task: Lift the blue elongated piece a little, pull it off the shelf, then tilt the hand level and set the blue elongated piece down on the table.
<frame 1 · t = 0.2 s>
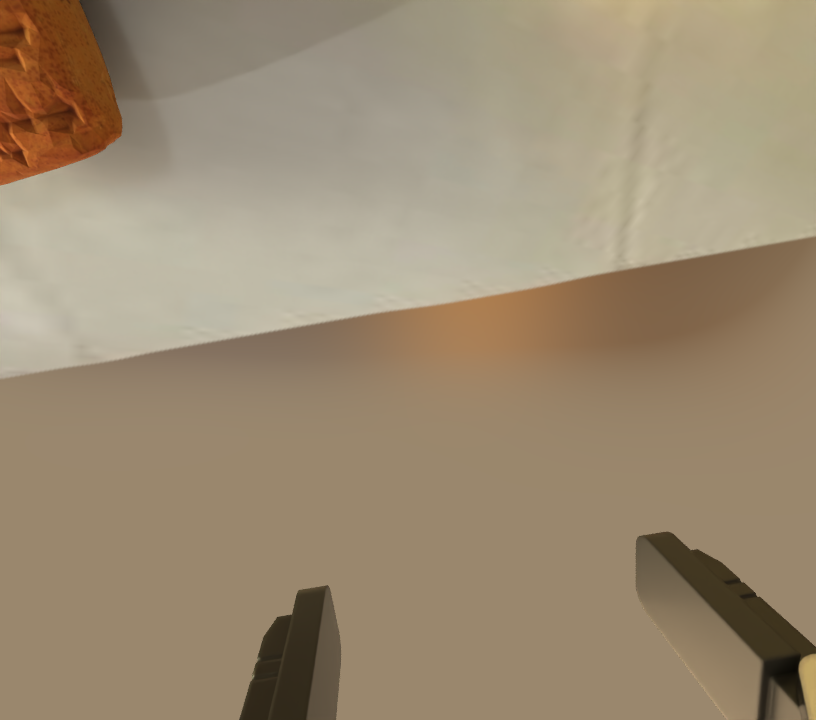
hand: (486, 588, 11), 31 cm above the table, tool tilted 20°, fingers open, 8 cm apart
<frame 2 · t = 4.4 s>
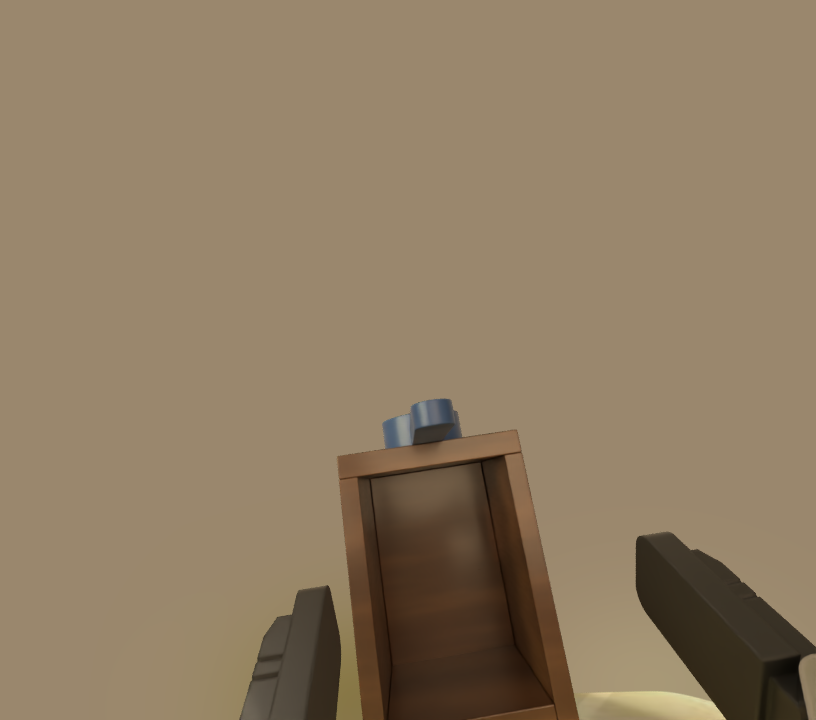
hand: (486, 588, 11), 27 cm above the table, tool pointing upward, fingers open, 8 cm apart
blue elongated piece: (426, 445, 31), point 32 cm above the table, touching shelf
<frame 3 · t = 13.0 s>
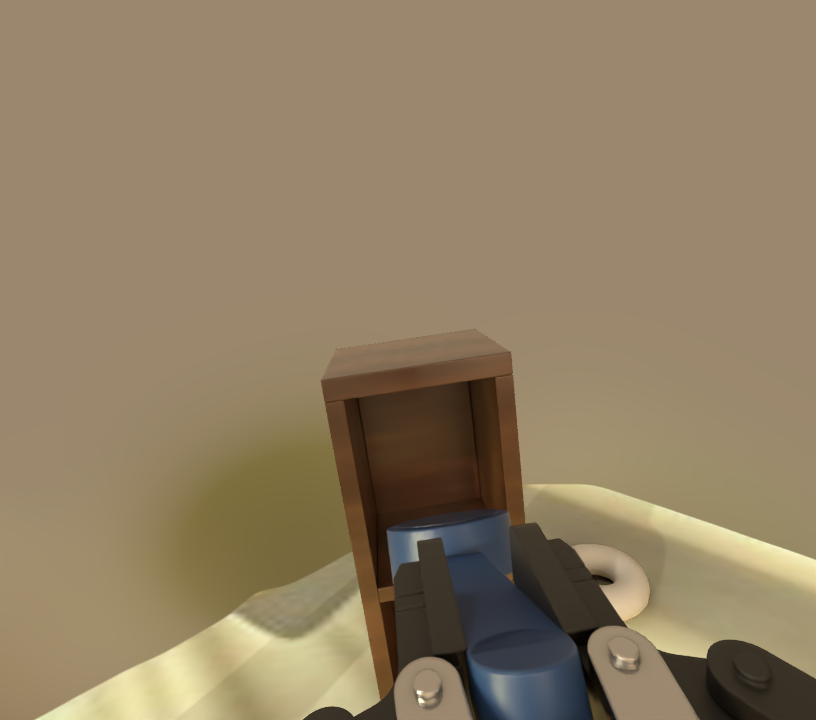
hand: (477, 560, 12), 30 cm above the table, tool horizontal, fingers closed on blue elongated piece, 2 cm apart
blue elongated piece: (462, 586, 18), point 25 cm above the table, tilted 29°, touching gripper
shelf: (457, 695, 39), on the table
donut: (598, 594, 48), on the table
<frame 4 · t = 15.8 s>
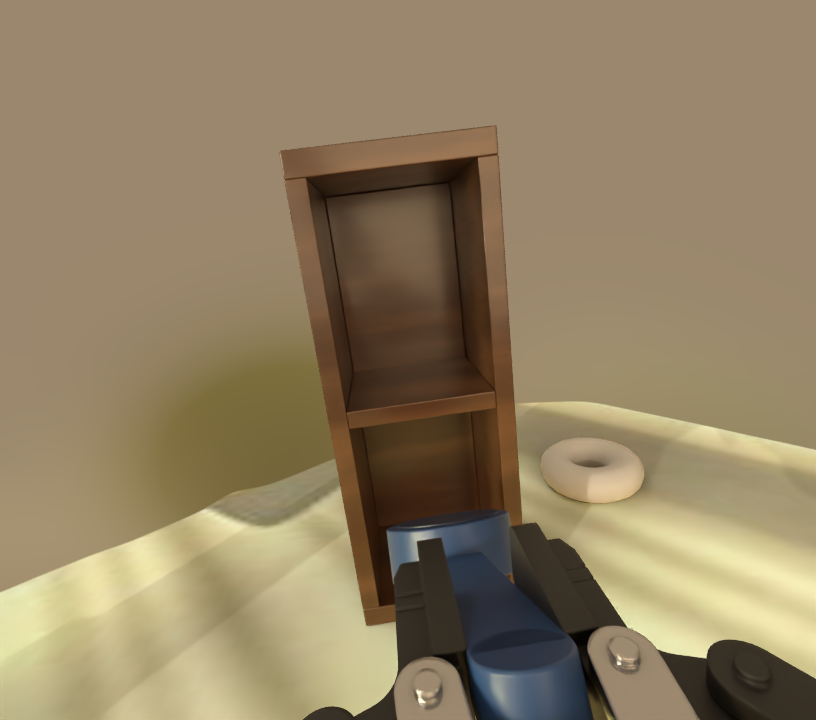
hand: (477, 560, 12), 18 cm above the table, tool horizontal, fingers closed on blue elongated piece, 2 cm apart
blue elongated piece: (463, 586, 18), point 12 cm above the table, tilted 30°, touching gripper
shelf: (437, 565, 36), on the table
donut: (590, 483, 46), on the table
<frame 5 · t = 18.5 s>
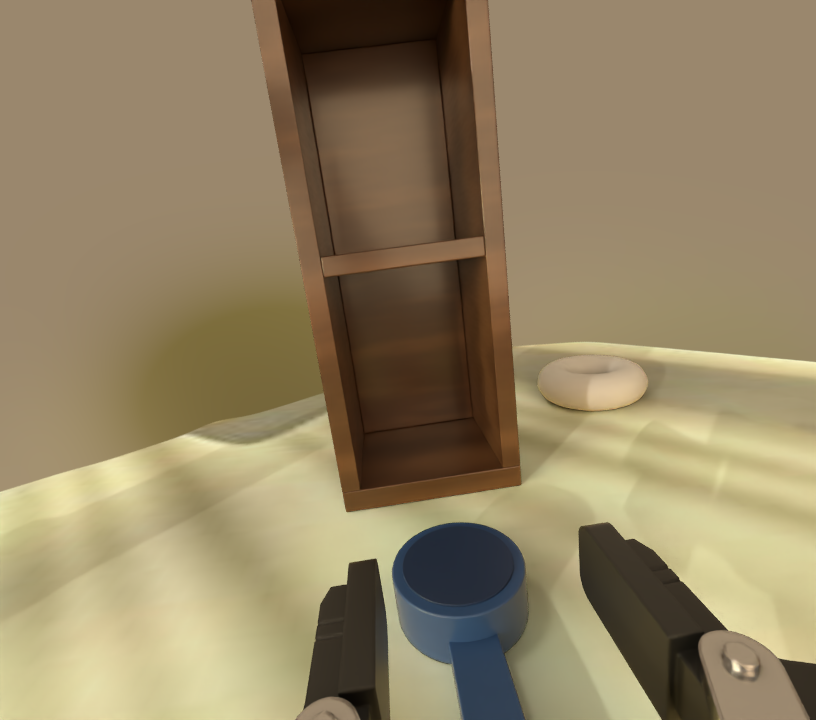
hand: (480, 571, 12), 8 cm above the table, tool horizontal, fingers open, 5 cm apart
blue elongated piece: (475, 660, 18), on the table
shelf: (426, 463, 34), on the table
donut: (590, 398, 43), on the table
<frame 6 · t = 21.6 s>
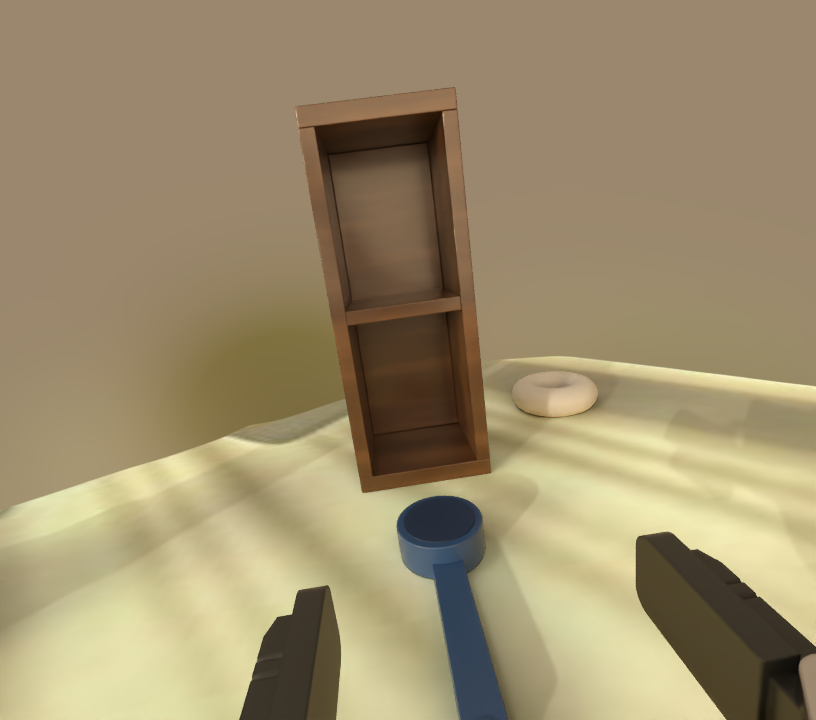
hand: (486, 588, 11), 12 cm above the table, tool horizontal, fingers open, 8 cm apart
blue elongated piece: (449, 577, 28), on the table
shelf: (421, 458, 44), on the table
donut: (554, 406, 53), on the table
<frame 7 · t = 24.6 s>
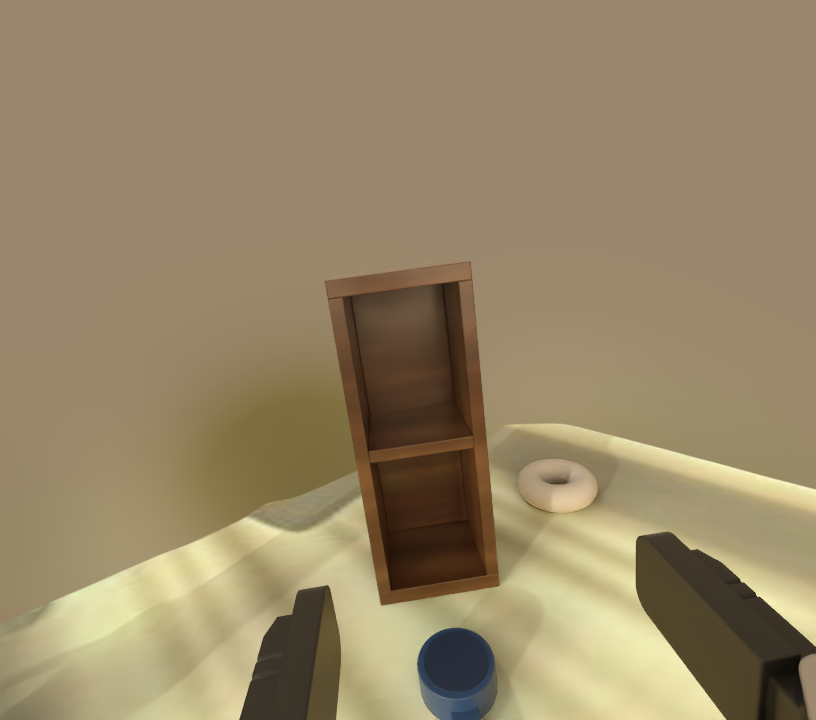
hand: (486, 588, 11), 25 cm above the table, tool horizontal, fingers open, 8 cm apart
shelf: (434, 561, 48), on the table
donut: (556, 496, 57), on the table
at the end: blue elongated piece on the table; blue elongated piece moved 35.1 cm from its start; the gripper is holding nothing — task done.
